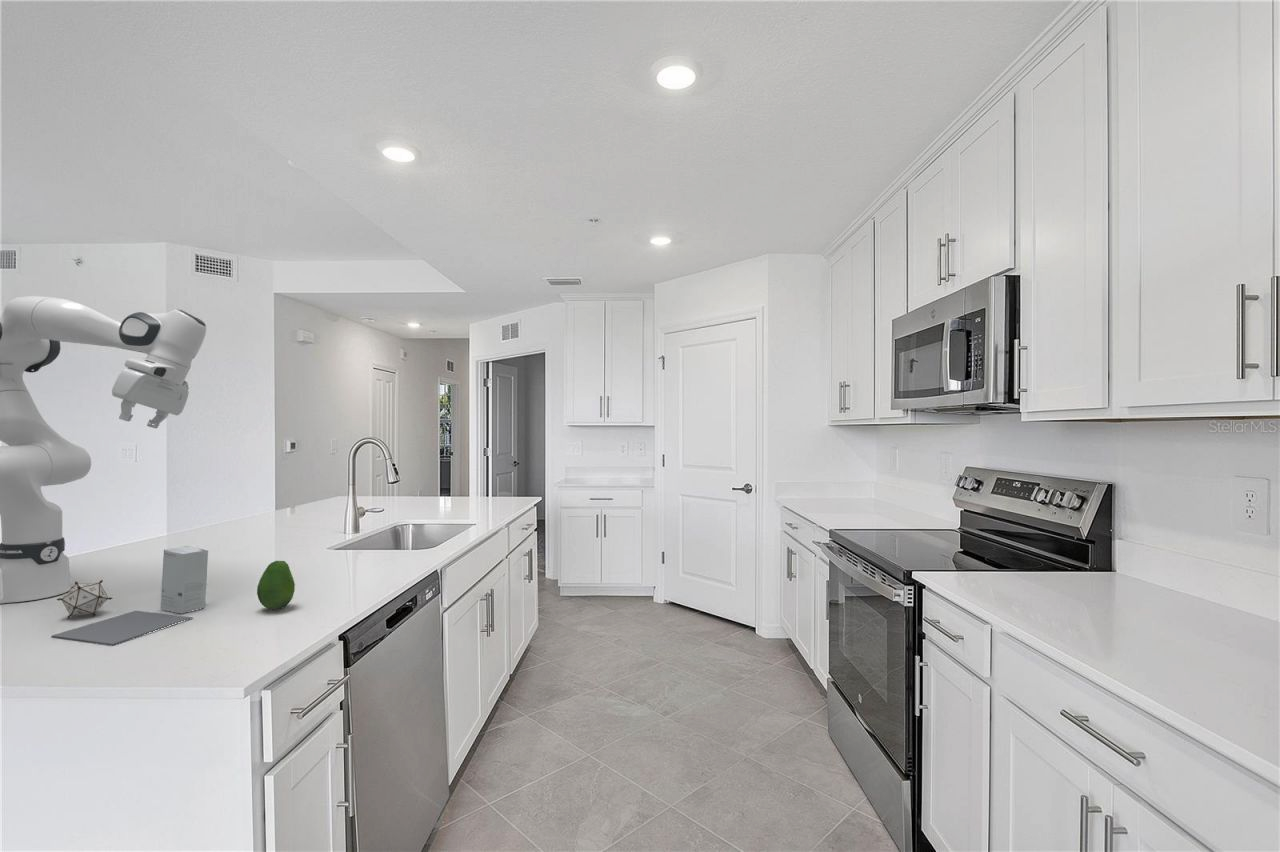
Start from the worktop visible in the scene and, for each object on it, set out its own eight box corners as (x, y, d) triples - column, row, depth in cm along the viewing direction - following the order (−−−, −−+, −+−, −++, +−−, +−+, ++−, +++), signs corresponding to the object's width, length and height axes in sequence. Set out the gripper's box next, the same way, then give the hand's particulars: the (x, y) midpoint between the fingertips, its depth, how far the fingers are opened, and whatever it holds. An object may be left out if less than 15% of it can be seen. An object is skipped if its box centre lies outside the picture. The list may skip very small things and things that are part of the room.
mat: (51, 637, 126) (51, 635, 126) (135, 612, 143) (135, 610, 143) (113, 645, 123) (113, 643, 123) (192, 619, 139) (192, 617, 139)
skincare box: (159, 610, 145) (160, 549, 144) (186, 603, 150) (186, 544, 150) (182, 615, 142) (182, 552, 141) (208, 607, 147) (208, 547, 147)
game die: (85, 633, 139) (69, 607, 133) (58, 617, 140) (42, 591, 134) (125, 605, 146) (112, 579, 140) (99, 590, 147) (85, 564, 141)
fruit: (250, 615, 142) (250, 565, 142) (265, 604, 150) (266, 557, 150) (286, 614, 144) (286, 564, 143) (299, 603, 151) (300, 556, 151)
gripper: (178, 379, 159) (155, 427, 156) (121, 356, 139) (93, 411, 136) (201, 386, 160) (178, 435, 157) (148, 365, 140) (120, 420, 137)
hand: (138, 424), depth 146 cm, fingers open, 8 cm apart
